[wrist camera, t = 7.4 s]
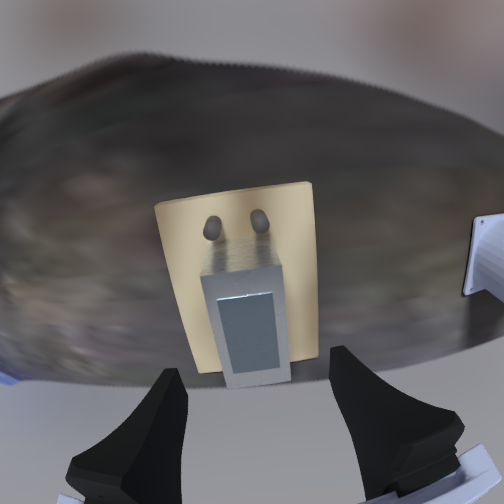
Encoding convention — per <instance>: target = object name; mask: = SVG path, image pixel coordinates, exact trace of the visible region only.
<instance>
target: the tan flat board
mask: <svg viewBox="0 0 504 504" xmlns="http://www.w3.org/2000/svg"><path fill="white" fill-rule="evenodd" d="M154 208H155V213H156V217H157V222H158V227H159V231H160V236H161V240H162V245H163V249H164V253H165V257H166V261H167V266H168V270H169V273H170V277H171V281H172V285H173V289H174V293H175V296H176V300H177V303H178V307H179V311H180V314H181V317H182V321H183V324H184V328H185V331H186V334H187V337H188V341H189V344H190V347H191V350H192V353H193V356H194V359H195V363H196V366H197V369H198V371H199V373H208V372H219V371H223V370H222V366H221V363H220V359H219V355H218V351H217V347H216V343H215V339H214V335H213V331H212V327H211V323H210V319H209V315H208V311H207V307H206V302H205V298H204V294H203V289H202V285H201V280H200V273H201V269H202V264H203V260H204V256H205V252H206V248H207V244H208V243H212V242H219V241H226V240H233V239H240V238H247V237H254V236H261V235H268V234H270V236H271V239H272V241H273V244H274V246H275V249H276V251H277V254H278V256H279V259H280V261H281V264H282V271H283V282H284V293H285V305H286V317H287V330H288V343H289V357H290V362H294V361H299V360H305V359H310V358H315V357H318V283H317V257H316V237H315V221H314V206H313V194H312V184H311V183H309V182H297V183H288V184H279V185H271V186H263V187H255V188H248V189H240V190H233V191H227V192H220V193H213V194H207V195H201V196H195V197H189V198H183V199H177V200H171V201H166V202H160V203H158V204H157V205H155V206H154Z"/></svg>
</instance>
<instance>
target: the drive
mask: <svg viewBox="0 0 504 504" xmlns="http://www.w3.org/2000/svg"><path fill="white" fill-rule="evenodd" d="M200 280H201V285H202V289H203V294H204V298H205V302H206V307H207V311H208V315H209V319H210V323H211V327H212V331H213V335H214V339H215V343H216V347H217V351H218V355H219V359H220V363H221V366H222V370H223V374H224V377H225V381H226V385H227V388H228V389H233V388H242V387H250V386H258V385H266V384H273V383H279V382H285V381H291V372H290V357H289V343H288V330H287V317H286V305H285V293H284V282H283V271H282V264H281V261H280V259H279V256H278V254H277V251H276V249H275V246H274V244H273V241H272V239H271V236H270V234H268V235H261V236H254V237H247V238H240V239H233V240H226V241H219V242H212V243H208V244H207V248H206V252H205V256H204V260H203V264H202V269H201V273H200Z"/></svg>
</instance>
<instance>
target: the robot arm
mask: <svg viewBox="0 0 504 504" xmlns="http://www.w3.org/2000/svg"><path fill="white" fill-rule="evenodd" d="M483 289H486V290H488V291H489V292H490V293H492V294H493V295H494V296H496V297H497V298H498V299H500V300H501V301H502V302H503V303H504V214H496V215H489V216H481V217H476V218H475V219H474V222H473V232H472V240H471V248H470V255H469V262H468V268H467V273H466V279H465V284H464V289H463V293H464V294H465V295H469V294H472V293H475V292H478V291H481V290H483ZM329 379H330V383H331V387H332V390H333V393H334V396H335V399H336V401H337V404H338V406H339V408H340V411H341V413H342V415H343V417H344V420H345V422H346V424H347V427H348V429H349V432H350V434H351V437H352V441H353V444H354V448H355V451H356V455H357V459H358V463H359V467H360V471H361V476H362V481H363V486H364V491H365V497H366V501H365V502H362V503H359V504H471V503H473V502H474V501H476V500H477V499H479V498H480V497H481V496H482V495H484V494H485V493H486V492H487V491H489V490H490V489H491V488H492V487H493V486H495V485H496V484H497V483H498V482H499V481H500V480H501V479H502V477H501V475H500V473H499V472H498V470H497V468H496V466H495V465H494V463H493V461H492V460H491V458H490V456H489V455H488V453H487V451H486V450H485V448H484V446H483V445H482V443H479V444H478V445H476V446H475V447H473V448H471V449H470V450H468V451H466V452H465V453H463V454H462V455H460V456H459V457H458V458H457V456H456V455H455V453H456V452H457V449H456V447H455V446H454V445H455V444H456V442H457V441H458V439H459V438H460V437H461V435H462V433H463V432H464V427H465V426H464V424H463V423H462V421H461V419H460V418H459V416H458V415H457V414H456V413H455V411H451V410H447V409H443V408H439V407H435V406H432V405H430V404H427V403H424V402H422V401H419V400H417V399H415V398H413V397H411V396H408V395H406V394H405V393H403V392H401V391H399V390H397V389H396V388H394V387H393V386H391V385H389V384H388V383H387V382H385V381H384V380H382V379H381V378H380V377H378V376H377V375H376V374H375V373H373V372H372V371H371V370H370V369H368V368H367V367H366V366H365V365H364V364H363V363H362V362H360V361H359V360H358V359H357V358H356V357H355V356H354V355H353V354H352V353H351V352H350V351H349V350H348V349H347V348H346V347H345V346H343V345H342V346H337V347H332V348H330V369H329ZM187 415H188V394H187V392H186V389H185V387H184V385H183V382H182V380H181V377H180V375H179V372H178V369H177V368H168V369H164V370H163V372H162V373H161V375H160V376H159V378H158V379H157V381H156V382H155V384H154V385H153V386H152V388H151V389H150V391H149V392H148V393H147V395H146V396H145V397H144V399H143V400H142V402H141V403H140V404H139V405H138V406H137V408H136V409H135V410H134V411H133V412H132V414H131V415H130V416H129V417H128V418H127V419H126V420H125V421H124V422H123V423H122V424H121V425H120V426H119V427H118V428H117V429H115V430H114V431H113V432H112V433H111V434H109V435H108V436H107V437H106V438H105V439H103V440H102V441H100V442H99V443H97V444H96V445H94V446H93V447H91V448H90V449H88V450H86V451H84V452H83V453H81V454H79V455H77V456H75V457H73V458H72V460H71V463H70V466H69V468H68V472H67V474H66V477H65V478H66V481H67V482H68V484H69V485H70V486H71V487H73V488H74V489H75V490H76V491H78V492H79V493H81V494H82V495H83V496H84V497H86V498H85V502H83V501H81V500H79V499H76V498H73V497H70V496H67V495H64V494H60V495H59V498H58V501H57V504H182V494H181V454H182V446H183V441H184V434H185V428H186V422H187Z"/></svg>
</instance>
